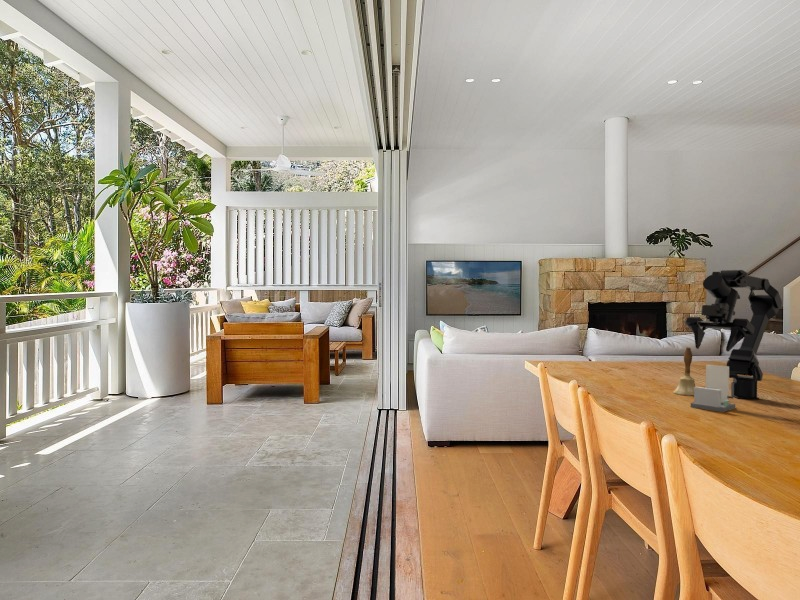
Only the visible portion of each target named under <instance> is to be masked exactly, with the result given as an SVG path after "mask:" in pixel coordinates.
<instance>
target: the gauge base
mask: <svg viewBox="0 0 800 600" xmlns="http://www.w3.org/2000/svg"><path fill="white" fill-rule="evenodd" d="M693 398H694V399H693V402H691V403H690V408H694V409H700V410H707V411H714V412H720V413H724V412H728V411H731V410H734V409H736V403H730V402H729V401H730V400H729V401H724V403H722V402H721V390H718V389H710V388H706V387H701V386H696V387H694V396H693Z"/></svg>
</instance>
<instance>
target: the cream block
mask: <svg viewBox="0 0 800 600" xmlns="http://www.w3.org/2000/svg"><path fill="white" fill-rule="evenodd" d="M705 388H710V389H718V390H721V402H722V403H724V401H730V400H729V399H732V400H733V399H734V396H732V395H731V396H730V394H729V393H730V378H729V366H727V365H726V366H725V365H716V364H706V365H705Z"/></svg>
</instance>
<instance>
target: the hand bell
mask: <svg viewBox="0 0 800 600" xmlns="http://www.w3.org/2000/svg"><path fill="white" fill-rule="evenodd" d="M692 361H693V353H692V349H691V347H688V346H687V347H686V349H685V350H684V353H683V362H684V375H683V376H681V377H679V382H678V385H677V387H676V388H675V389H673V393H674V394H677V395H680V396H681V395H682V396H690V397H691V396H692V397H694V387H697V386H696V382H695V381H696V380H695V378H694V377H692V375H691V364H692Z"/></svg>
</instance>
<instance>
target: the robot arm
mask: <svg viewBox="0 0 800 600" xmlns="http://www.w3.org/2000/svg"><path fill="white" fill-rule="evenodd" d="M702 287H703V288H704V289H705V290H706V291H707V292H708V293H709V294H710V295H711V296H712V297H713V298H715V300H714V303H711V305H709V304H702V305H701V313H700V316H705V318H706V319H707V320H703V318H701V317H700V316H688V317H686V319H685V321H684V324H685V326H687V327H688V328H689V329H690V330H691V331H692V332H693V335H694V343H695V344H694V345H695V349H696V350H699V349H700V346H701V345H702V342H703V339H704V338H705V336H706V335H705V334H706V332H705V331H706V329H707V328H714V329H730V334H729V338H728V340H727V344H726V347H725V351H726V352H729V353H730V355H729V357H728V360H727V362H726V366H729V379H731V378H732V382H731V384H730V385H731V387H730V395H731V397H733V398H737V399H743V400H744V399H747V400H749V399H750V400H760V397H759V396H758V382H761V381H763V378H764V373H763V372H762V369H761V367H760V365H759V363H760V361H759V359H758V357H757V353H758V351H759V347H760V346H761V341H762V339H763V337H764V335H765V332H766V328H767V325H768V323H769V321H770V320H771V319H772V318H774V317H776V316H777V315H778V312H779V310H780V309H781V308H782V304H783V303H782V298H781V296H780V295H781V294H780V292H779V291H778V290H777V289H776V288H775V287H773V286H772V284H771V283H770V280H769V279H768V278H765V277H764V278H762V277H758V276H751V275H748V272H747V271H745V270H744V269H729V270H728V269H724V270H723V269H722V270H720V271H712V273H711V275H707V277H706V278H705V279H704V280H703V282H702ZM736 288H740V289H743V288H745V289H749V290H750V293H749V295H748V297H747V299H748V301H749V303H750V310H751V311H752V312H751V313H752V316H751V319H750V320H748V318H736V317H735V318H734V319H733V316H735V315H736V311H735V307H736V303H737V300H741V295H740V294H739V292H738V290H736ZM755 291H763V292H765V294H756V295H755ZM732 319H733V320H732ZM708 320H709V321H708ZM740 341H742V342H741V344H740V347H739V348H738V349H737V348H736V349H735V348H734V347H735V346H736V345H737V344H738V343H739V342H740ZM733 348H734V349H733Z"/></svg>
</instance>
